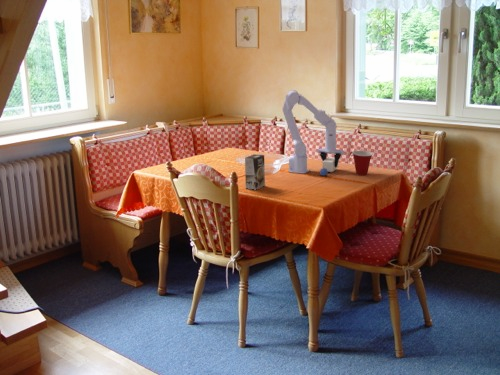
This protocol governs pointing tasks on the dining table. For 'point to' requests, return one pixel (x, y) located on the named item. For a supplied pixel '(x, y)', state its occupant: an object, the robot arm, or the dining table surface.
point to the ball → (323, 172)
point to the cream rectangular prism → (329, 164)
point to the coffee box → (254, 171)
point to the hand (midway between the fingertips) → (330, 166)
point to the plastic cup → (362, 161)
